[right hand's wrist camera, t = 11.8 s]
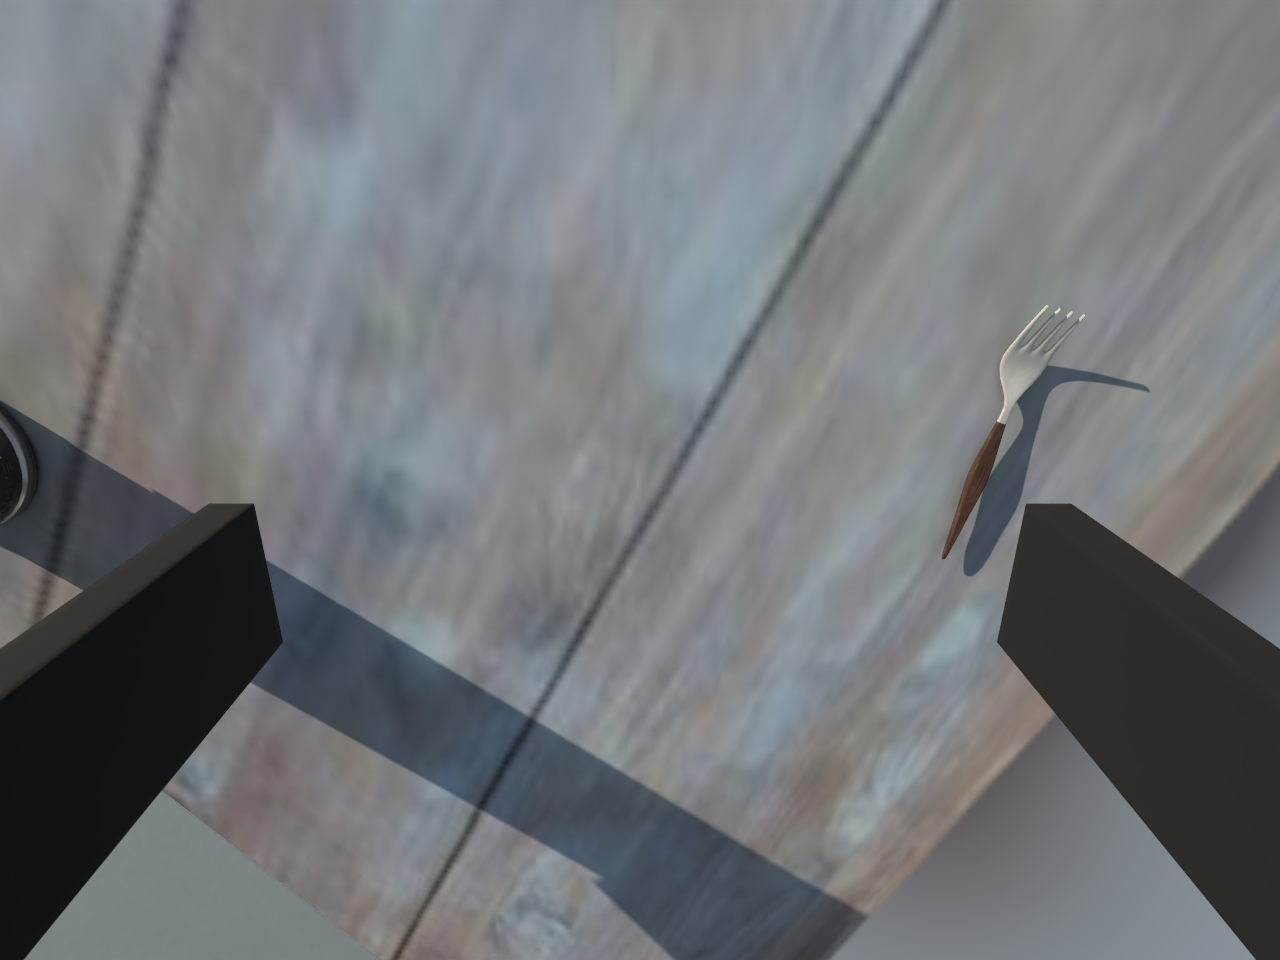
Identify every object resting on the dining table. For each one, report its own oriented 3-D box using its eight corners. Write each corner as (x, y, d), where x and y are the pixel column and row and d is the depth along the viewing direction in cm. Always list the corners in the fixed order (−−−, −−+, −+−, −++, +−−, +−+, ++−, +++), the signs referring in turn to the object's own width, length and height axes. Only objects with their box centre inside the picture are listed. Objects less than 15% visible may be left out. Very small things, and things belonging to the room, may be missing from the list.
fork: (920, 550, 45) (932, 565, 44) (1025, 299, 40) (1044, 304, 38) (958, 559, 46) (972, 574, 44) (1068, 310, 40) (1089, 315, 38)
